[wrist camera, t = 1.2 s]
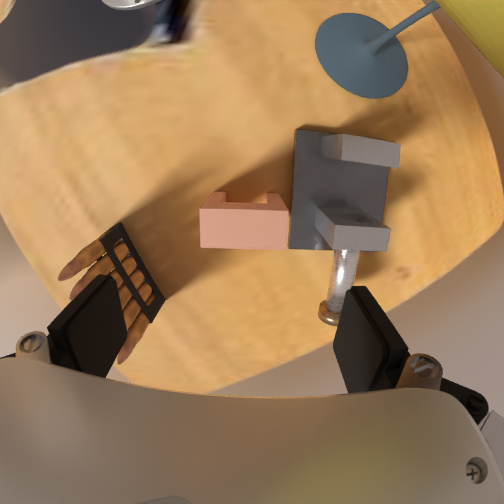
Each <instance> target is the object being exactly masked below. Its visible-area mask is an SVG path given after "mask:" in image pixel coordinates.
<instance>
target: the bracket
mask: <svg viewBox="0 0 504 504" xmlns="http://www.w3.org/2000/svg"><path fill="white" fill-rule="evenodd" d="M400 145H401V144H397V143H393V142H388V141H383V140H378V139H372V138H367V137H361V136H354V135H348V134H336V133H328V132H320V131H310V130H299V129H296V130H295V133H294V156H293V175H292V192H291V207H290V221H289V235H288V248H289V249H307V250H360V251H366V252H377V251H387V247H388V242H389V236H390V231H391V228H389V227H388V226H386V225H385V224H383V223H382V218H383V211H384V204H385V196H386V187H387V178H388V167H393V168H398V169H399V160H400Z"/></svg>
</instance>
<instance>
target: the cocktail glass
mask: <svg viewBox="0 0 504 504" xmlns="http://www.w3.org/2000/svg"><path fill="white" fill-rule="evenodd" d="M440 7H441V8H442V9H443V10H444V11H445V12H446V14H448V16H449V17H450V18H451V19H452V20H453V21H454V22H455V23H456V24H457V26H458V27H459V28H460V29H461V30H462V31H463V33H464V34H465V35H466V36H467V37H468V38H469V39H470V40H471V41H472V43H473V44H474V45H475V46H476V47H477V48H478V49H479V51H480V52H481V53H482V54H483V55H484V56H485V58H486V59H487V60H488V61H489V62H490V63H491V64H492V66H493V67H494V68H495V69H496V70H497V71H498V72H499V73H500V74H501V75H502V77H503V78H504V0H434V1H432V2H431V3H429V4H428V5H426V6H425V7H423V8H421V9H420V10H418V11H417V12H415V13H414V14H412V15H411V16H409V17H408V18H406V19H405V20H403V21H402V22H400V23H399V24H398V25H396V26H395V27H393V28H392V29H390V30H388V29H387V28H386V27H385V26H384V25H382V24H381V23H379V22H378V21H376V20H374V19H372V18H370V17H367V16H364V15H361V14H356V13H342V14H337V15H334V16H332V17H330V18H328V19H327V20H326V21H324V22H323V23H322V25H321V26H320V27H319V29H318V31H317V34H316V39H315V48H316V53H317V56H318V59H319V61H320V63H321V65H322V67H323V68H324V70H325V71H326V73H327V74H328V75H329V76H330V77H331V78H332V79H333V80H334V81H335V82H336V83H337V84H338V85H340V86H341V87H342V88H344V89H345V90H347V91H349V92H351V93H353V94H355V95H358V96H361V97H366V98H375V99H377V98H384V97H388V96H390V95H392V94H394V93H396V92H397V91H398V90H399V89H400V88H401V86H402V85H403V84H404V81H405V79H406V75H407V60H406V56H405V53H404V50H403V48H402V46H401V45H400V43H399V41H398V40H397V38H396V37H395V35H397V34H398V33H400V32H401V31H403V30H404V29H406V28H407V27H409V26H410V25H412V24H413V23H415V22H416V21H418V20H420V19H421V18H423V17H425V16H426V15H428V14H430V13H431V12H433V11H435V10H437V9H439V8H440Z"/></svg>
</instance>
